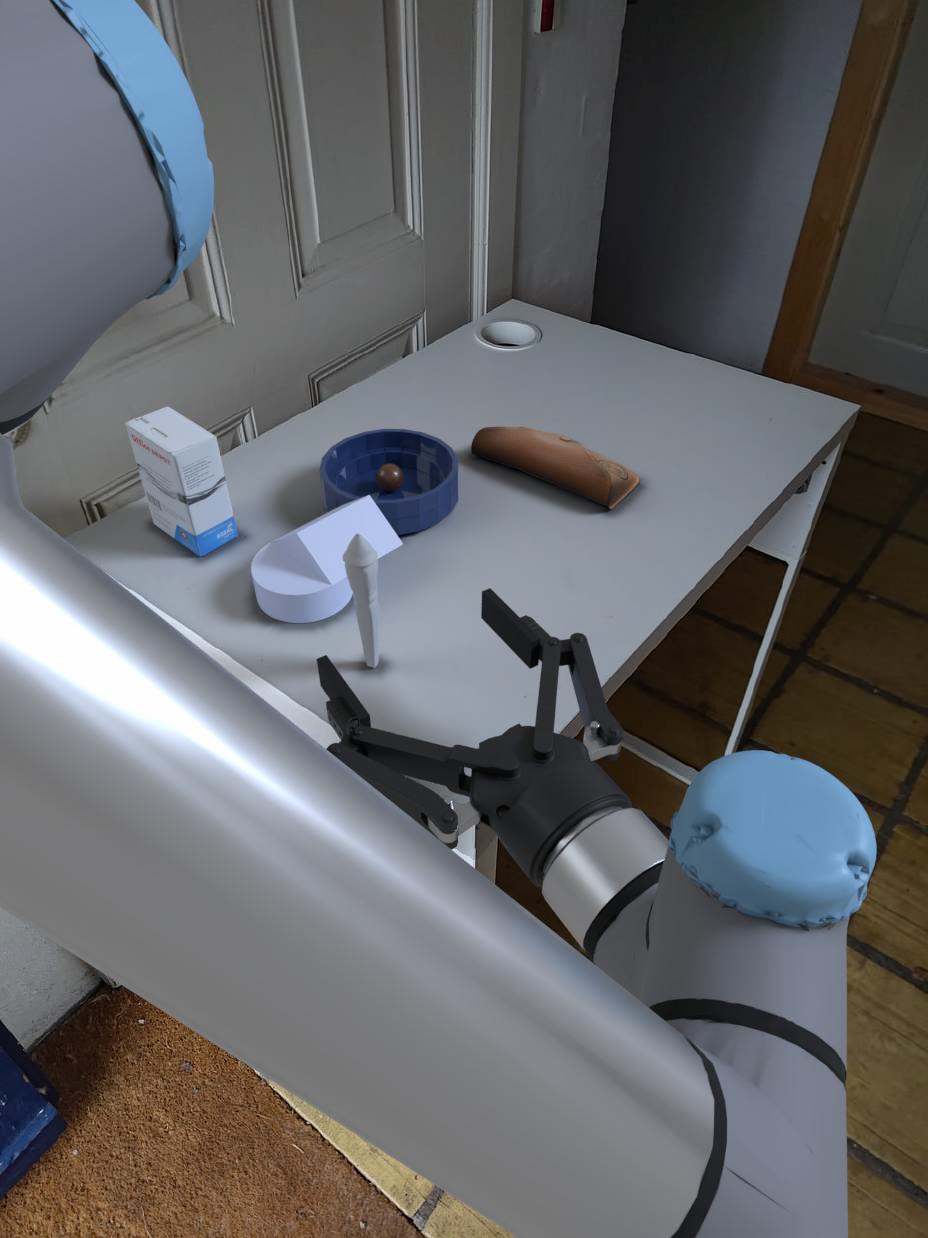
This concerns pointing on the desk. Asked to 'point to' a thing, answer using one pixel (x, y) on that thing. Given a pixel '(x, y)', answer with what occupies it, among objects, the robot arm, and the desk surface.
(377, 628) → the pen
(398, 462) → the bowl
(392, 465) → the ball
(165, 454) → the ink box
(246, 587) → the desk surface
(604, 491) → the sunglasses case
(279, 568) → the wedge on round base
